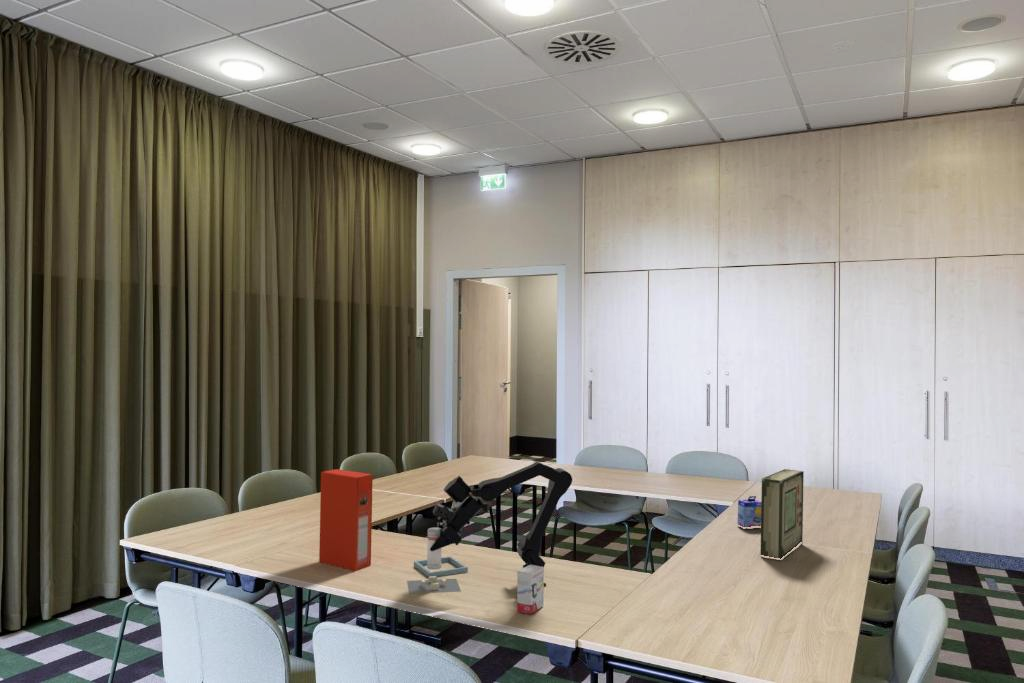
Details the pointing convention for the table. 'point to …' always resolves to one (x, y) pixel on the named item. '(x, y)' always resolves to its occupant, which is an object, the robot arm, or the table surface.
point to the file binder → (346, 519)
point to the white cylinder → (433, 556)
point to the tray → (449, 559)
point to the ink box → (530, 589)
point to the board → (433, 585)
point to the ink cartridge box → (749, 512)
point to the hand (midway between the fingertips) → (430, 548)
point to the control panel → (781, 512)
